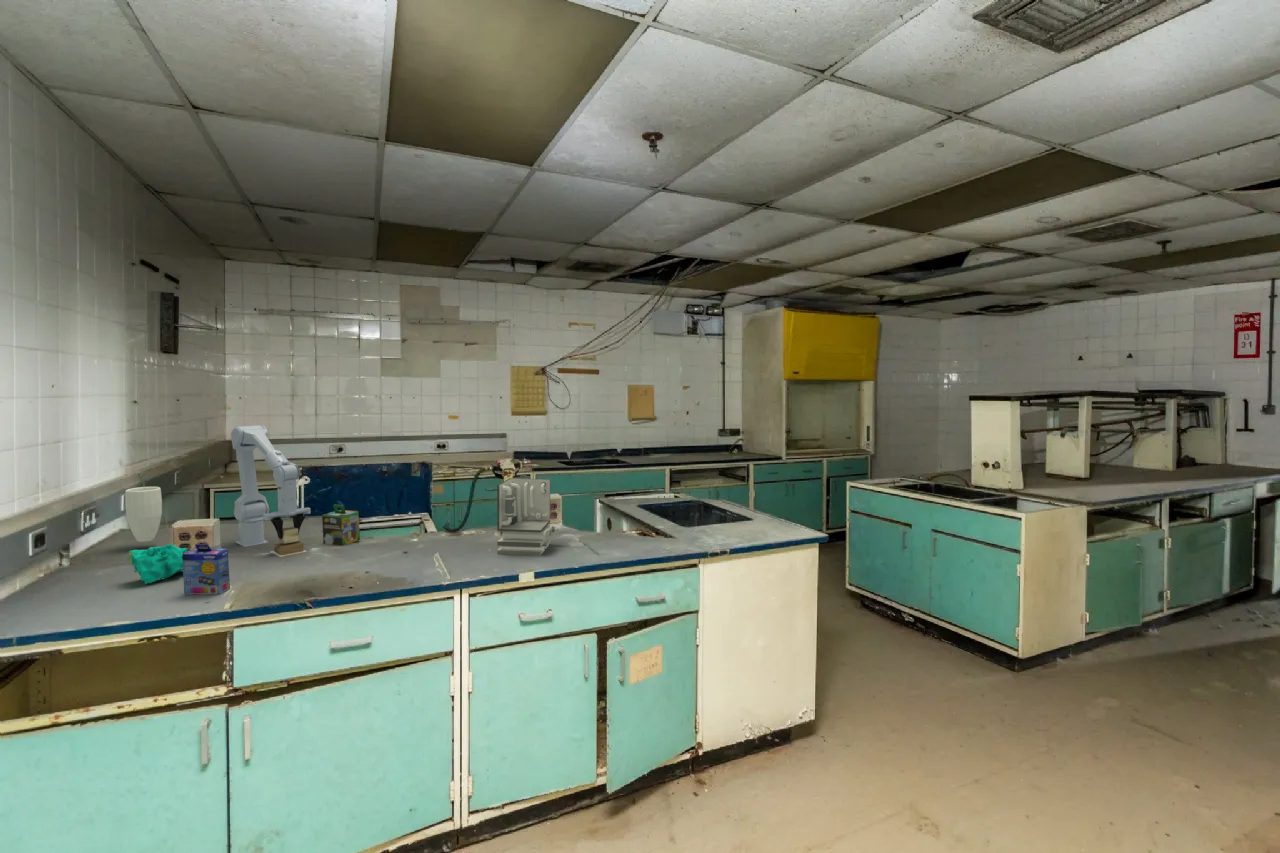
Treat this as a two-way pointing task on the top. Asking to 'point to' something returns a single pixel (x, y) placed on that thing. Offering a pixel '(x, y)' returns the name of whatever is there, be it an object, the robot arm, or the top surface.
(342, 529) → the chalk box
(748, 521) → the top surface
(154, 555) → the teal lumpy piece
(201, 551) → the ink cartridge box
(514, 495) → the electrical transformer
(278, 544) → the brown square wooden block
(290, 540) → the maple cube
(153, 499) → the cup
